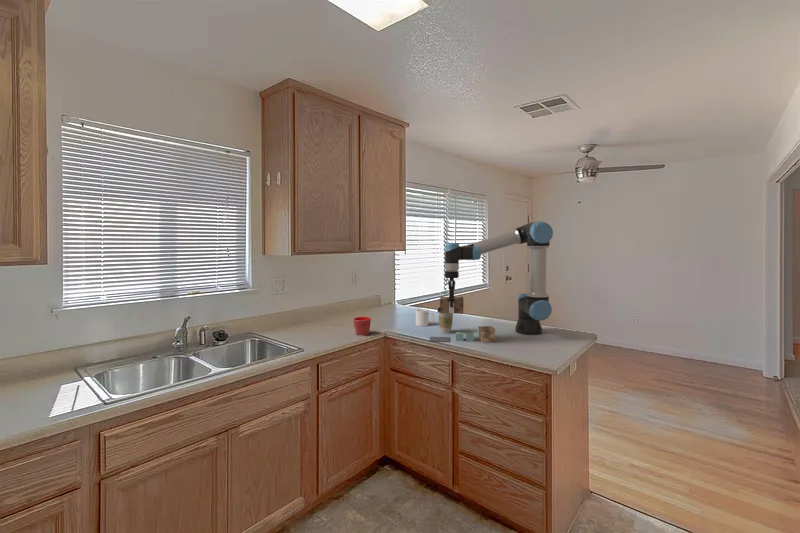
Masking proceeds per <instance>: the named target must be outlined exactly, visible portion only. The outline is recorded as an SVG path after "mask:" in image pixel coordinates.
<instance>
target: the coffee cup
mask: <svg viewBox="0 0 800 533" xmlns="http://www.w3.org/2000/svg"><path fill="white" fill-rule="evenodd" d="M437 316H438V324H439V329H440V330H439V331H440V333H441V334H451V333H452V327H453V317H454V313H440V306H438V307H437Z"/></svg>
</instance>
